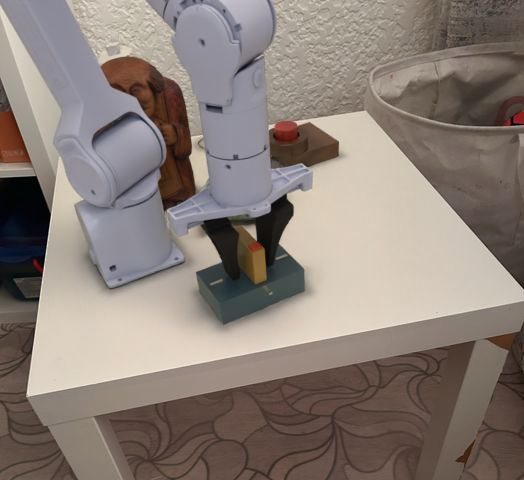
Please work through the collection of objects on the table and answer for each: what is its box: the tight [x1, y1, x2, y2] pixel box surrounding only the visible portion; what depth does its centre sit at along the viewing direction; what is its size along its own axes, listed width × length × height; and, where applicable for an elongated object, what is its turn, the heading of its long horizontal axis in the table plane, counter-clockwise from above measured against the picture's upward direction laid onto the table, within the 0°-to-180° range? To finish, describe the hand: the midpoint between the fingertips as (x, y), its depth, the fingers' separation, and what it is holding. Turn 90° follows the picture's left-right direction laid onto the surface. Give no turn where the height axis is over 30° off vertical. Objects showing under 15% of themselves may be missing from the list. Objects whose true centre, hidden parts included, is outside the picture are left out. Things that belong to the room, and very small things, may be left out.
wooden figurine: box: [93, 56, 197, 211], centre depth 68 cm, size 12×6×18 cm, turn 108°
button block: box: [269, 121, 340, 168], centre depth 80 cm, size 10×8×4 cm
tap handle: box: [233, 225, 267, 285], centre depth 56 cm, size 5×1×4 cm, turn 29°
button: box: [273, 120, 298, 141], centre depth 77 cm, size 3×3×2 cm
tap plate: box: [195, 243, 306, 325], centre depth 59 cm, size 10×9×3 cm
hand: (249, 267), depth 58 cm, fingers open, 3 cm apart
